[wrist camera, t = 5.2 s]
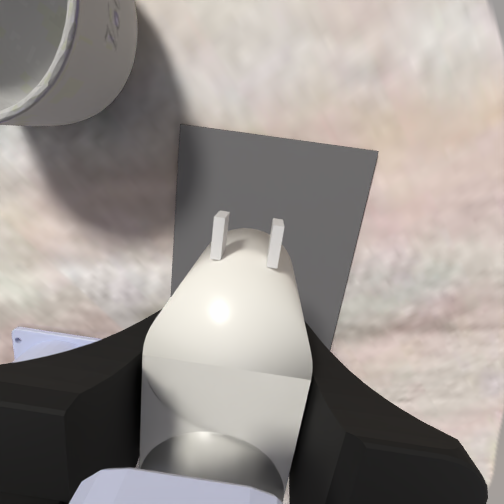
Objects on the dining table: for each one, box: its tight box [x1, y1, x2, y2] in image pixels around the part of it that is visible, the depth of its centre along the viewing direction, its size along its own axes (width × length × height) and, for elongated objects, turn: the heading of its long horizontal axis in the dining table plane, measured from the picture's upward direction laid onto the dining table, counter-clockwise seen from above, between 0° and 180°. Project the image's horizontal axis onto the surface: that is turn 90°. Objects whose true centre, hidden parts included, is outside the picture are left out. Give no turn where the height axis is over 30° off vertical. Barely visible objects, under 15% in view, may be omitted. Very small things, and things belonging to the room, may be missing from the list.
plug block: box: [139, 211, 312, 502], centre depth 10 cm, size 9×4×6 cm, turn 172°
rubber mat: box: [171, 124, 379, 351], centre depth 21 cm, size 16×12×1 cm
